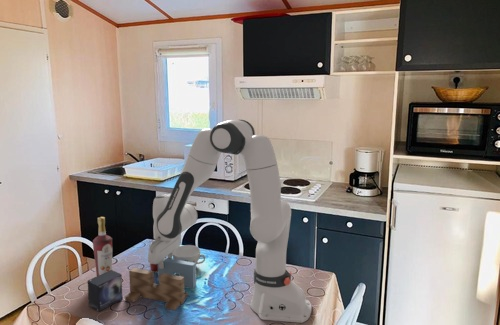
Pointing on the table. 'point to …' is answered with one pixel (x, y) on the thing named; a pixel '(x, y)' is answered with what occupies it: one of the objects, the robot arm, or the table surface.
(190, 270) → the blue-gray flat plate
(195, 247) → the teacup
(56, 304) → the table surface
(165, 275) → the walnut slotted board
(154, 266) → the soda can
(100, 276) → the small box
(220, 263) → the table surface
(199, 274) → the table surface
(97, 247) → the liquor
